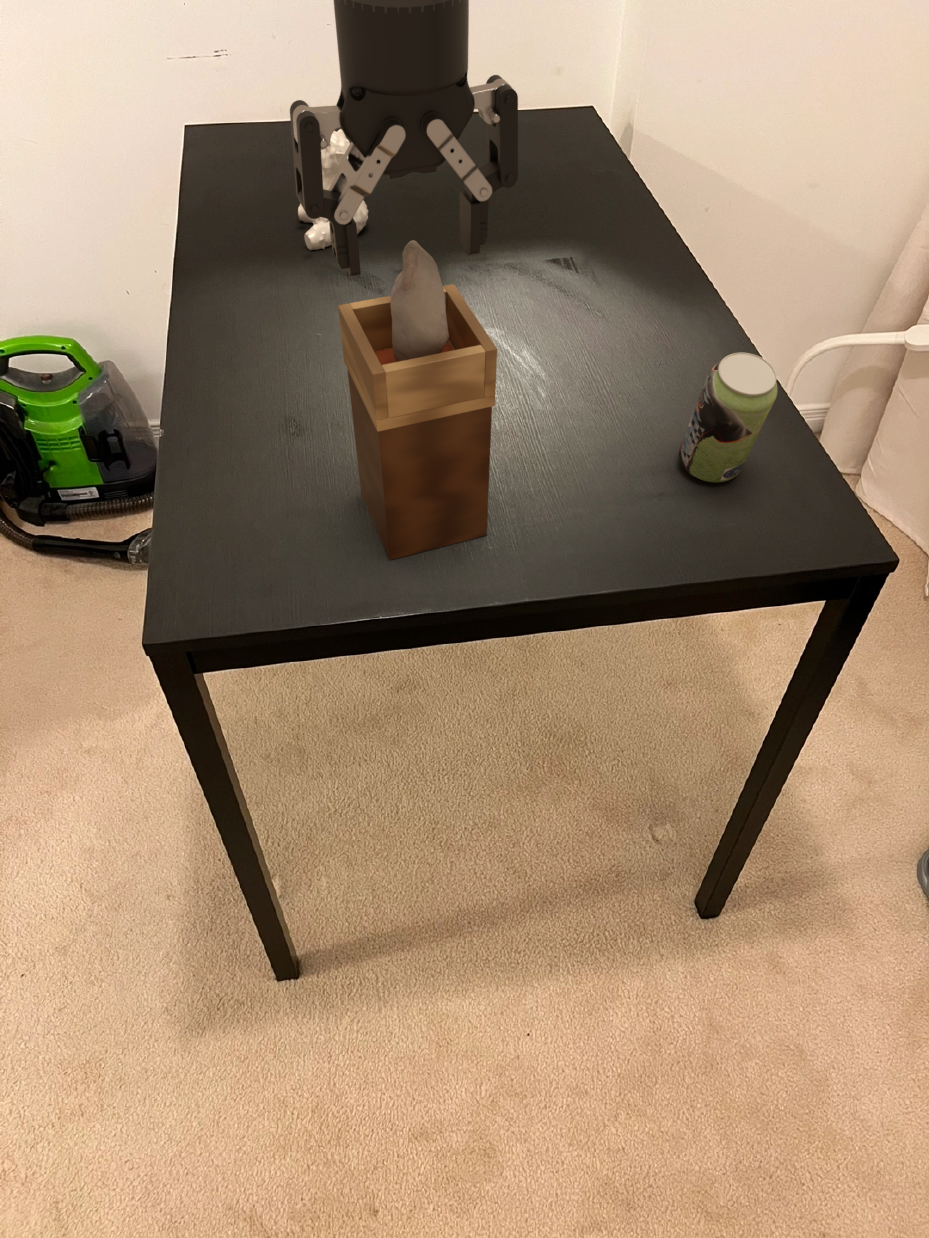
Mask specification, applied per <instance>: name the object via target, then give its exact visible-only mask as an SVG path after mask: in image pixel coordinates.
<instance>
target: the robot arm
mask: <svg viewBox="0 0 929 1238" xmlns="http://www.w3.org/2000/svg"><path fill="white" fill-rule="evenodd" d="M333 10H334V11H333V12H334V21H335V29H336V30H335V33H336V43H337V53H338V64H339V65H338V66H339V76H340V77H339V78H340V92H339V95H338V100H337V102H336V104H335V105H323V106H322V105H321V106H309V104H308V103H307V102H306V101H305V100H303V99H297V100H295V101H293V102H292V103H291V104H290V107H289V119H290V130H291V131H290V133H291V143H292V145H291V146H292V155H293V156H292V157H293V170H294V182H295V193H296V197H297V199H298V201H299V203H300V204H301V205H302V207H303V209H304V211H305V212H306V214H307V216H308V217H309V218H312V219H317V218H320V217H322V218H327V219H329V226H330V235H331V243H332V245H331V252H332V254H333V256H334V259H335V260H336V262H337V263H338V265H339V267H340V270H346V272H347V274H348V276H349V277H355V276H360V275H361V262H360V261H361V260H360V251H359V240H358V234H357V226H356V222H355V220H354V219H353V216H354V215H355V213H356V211H357V210H358V208H359V206H360V204H361V203H362V201H364V199H365V198H366V197H369V196H370V195H371V194H372V193H373V191H374V190H375V188H376V186H377V185H378V182H379V181H380V179H381V177H382V176H387V178H388V179H389V180H390V179H398V178H402V177H405V176H406V175H409V174H411V173H419V174H430V173H436V172H437V168H438V167H441V165H443V164H444V163H445V161H446V162H447V164H448V165H449V166H450V167H451V168H452V170H453V171H454V172H455V174H456V175H457V177H459V179H460V180H461V181H462V182H463V185H464V186H463V187H464V188H463V189H459V242H460V245H461V247H462V249H463V251H465V253H466V255H468V256H474V255H479V254H480V252H481V251H480V250H481V246H483V245H485V244H486V241H487V239H488V232H489V231H488V230H489V229H488V227H489V201H490V198H491V197H492V195H493V194H494V192H496V191H497V190H498V191H499V190H501V188H503V187H504V188H505V189H510V188H513V187H514V186H515V185H516V184H517V182H518V179H519V95H518V93H517V91H516V90H515V89H514V88H513V87H512V86H511V84H509V83H508V82H507V81H506V80H505V79H503V77H502V76H500V75H499V74H493V75H490V76H489V77H488V78H487V81H486V82H485V84H479V85H475V86H470V85H469V80H468V73H469V38H470V37H469V33H470V31H469V26H470V25H469V24H470V22H469V21H470V19H469V17H470V0H333ZM475 110H477V111H478V115H479V117H480V118H481V119H482V120H483V121H484V123H486V151H487V152H486V153H487V154H486V155H487V162H486V163H484V164H482V165H480V166H479V167H478V166H477V165H476V163H475V162H474V160H473V159H472V158H471V156H470V155H469V154H468V153H467V151H466V150H465V149H464V148H463V146H462V145H461V143H460V142H459V141H458V140H459V139H460V137H461V136H462V134H463V132H464V130H465V129H466V127H467V125H468V124H469V122H470V120H471V119H472V116H473V114H474V112H475ZM337 129H338V130H339V129H341V130H343V132H344V134H345V137H346V138H347V139H348V140H349V143H350V145H349V147H348V148H347V150H346V152H345V154H344V156H343V157H342V159H341V161H340V165H339V171H338V173H337V175H336V177H335V179H334V181H333V182H332V184H331V186H330V188H329V190H325V189H323V177H322V159H321V150H323V149H325V148H327V147H328V146H329V144H330V141H331V135H332V133H333V132H334V131H336V130H337Z"/></svg>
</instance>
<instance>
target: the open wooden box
mask: <svg viewBox="0 0 929 1238" xmlns="http://www.w3.org/2000/svg"><path fill="white" fill-rule="evenodd" d="M442 286H443V289H444V294H445V305H446V308H445V309H446V317H447V326H448V334H449V338H448V341H447V343H446V345H445V347H444V349H443V351H442V352H441V353H438V354H434V355H429V356H424V357H419V358H414V359H409V360H404V361H399V362H397V360H396V359H395V356H394V353H393V345H392V315H391V305H390V298H391V295H387V296H382V297H381V296H380V297H376V298H371V299H370V298H369V299H365V300H360V301H359V300H358V301H354V302H350V303H342V304H338V306H337V309H338V318H339V328H340V335H341V337H340V338H341V344H342V345H341V347H342V352H343V362H344V364H345V367H346V369H348V370H347V372H348V371H349V373H350V375H351V377H352V379H353V381H354V383H355V385H356V388H357V390H358V392H359V394H360V396H361V398H362V400H363V402H364V404H365V406H366V409H367V411H368V413H369V415H370V417H371V419H372V421H373V423H374V425H375V428H376V430H377V431H378V432H379V431H383V430H388V429H392V428H397V427H401V426H406V425H410V424H415V423H419V422H424V421H428V420H433V419H437V418H442V417H446V416H451V415H455V414H460V413H465V412H469V411H474V410H478V409H483V408H487V407H492V408H493V407H495V406H496V405H495V404H496V389H497V388H496V387H497V386H496V385H497V367H498V365H497V362H498V347H497V346H496V344H494V342H493V340H492V339H491V337H490V336H489V334H488V333H487V331H486V330H485V328H484V327H483V326H482V324H481V322H480V321H479V319H478V318H477V317H476V315H475V314H474V312H473V311H472V309H471V307H470V306H469V304H468V303H467V302H466V300H465V299H464V297H463V295H462V294H461V292H460V291H459V289H458V288H457V286H456V285H455V284H454V283H452V284H447V285H442Z"/></svg>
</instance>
